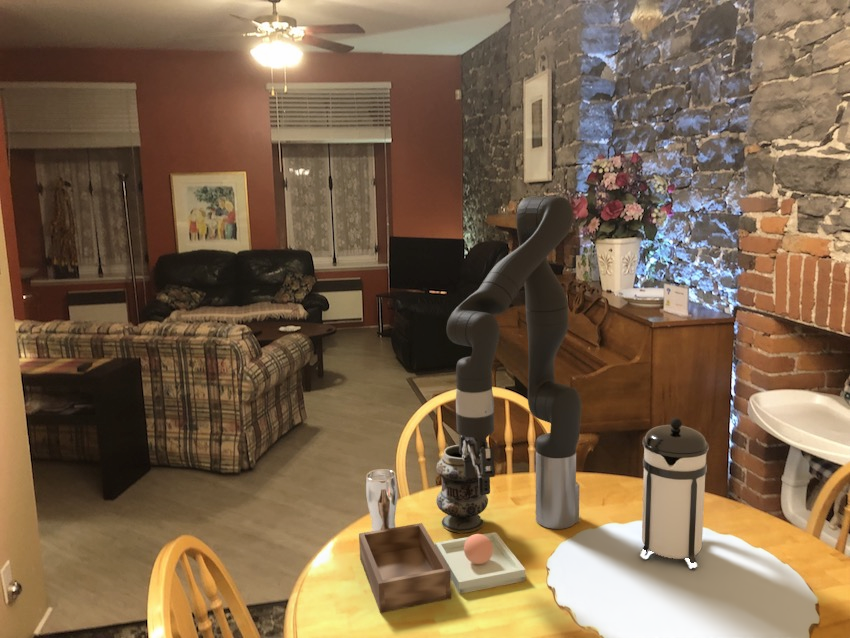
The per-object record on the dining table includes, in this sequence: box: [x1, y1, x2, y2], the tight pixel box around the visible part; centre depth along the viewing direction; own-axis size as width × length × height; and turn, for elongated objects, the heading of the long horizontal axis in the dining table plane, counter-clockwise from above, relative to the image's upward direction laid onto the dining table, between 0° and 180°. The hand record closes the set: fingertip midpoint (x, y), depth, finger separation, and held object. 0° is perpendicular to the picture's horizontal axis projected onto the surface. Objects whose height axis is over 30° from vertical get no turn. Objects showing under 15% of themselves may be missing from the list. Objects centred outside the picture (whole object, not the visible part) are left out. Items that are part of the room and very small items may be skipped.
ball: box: [464, 533, 493, 564], centre depth 144 cm, size 6×6×6 cm
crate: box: [358, 522, 452, 614], centre depth 141 cm, size 14×20×6 cm
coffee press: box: [641, 417, 710, 563], centre depth 146 cm, size 17×16×30 cm
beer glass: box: [365, 468, 398, 532], centre depth 157 cm, size 7×7×15 cm
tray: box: [434, 531, 526, 594], centre depth 144 cm, size 14×16×2 cm
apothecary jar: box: [435, 444, 489, 534], centre depth 162 cm, size 12×12×18 cm
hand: (476, 485), depth 141 cm, fingers open, 8 cm apart
